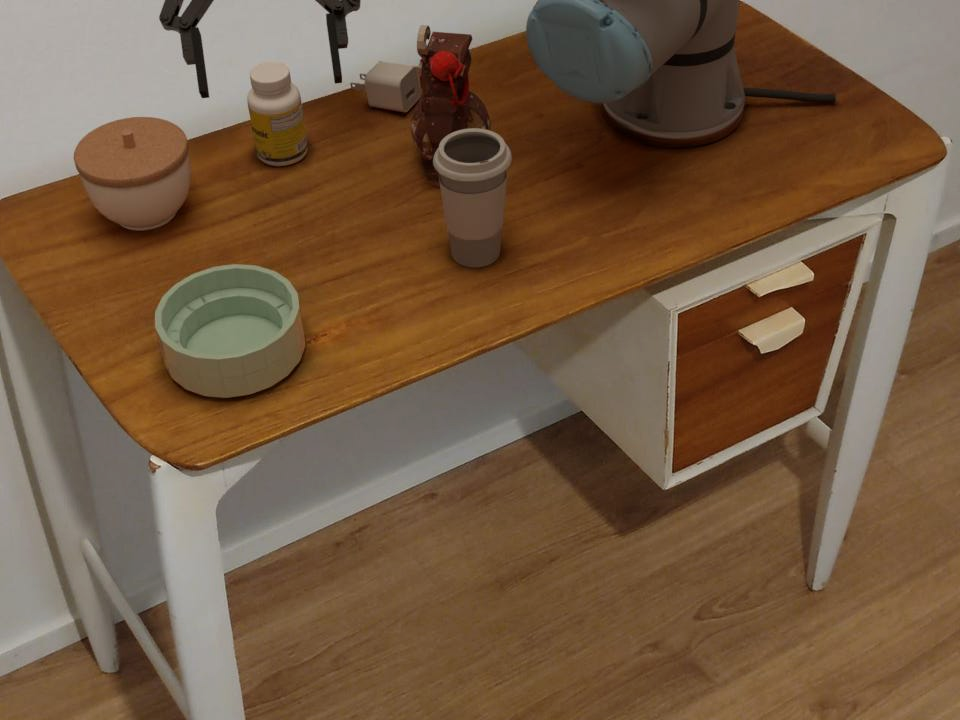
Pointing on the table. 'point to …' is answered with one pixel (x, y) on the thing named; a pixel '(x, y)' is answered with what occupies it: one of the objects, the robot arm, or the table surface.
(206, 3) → the robot arm
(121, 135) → the trinket box
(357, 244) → the table surface
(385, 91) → the usb wall charger
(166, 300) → the sage bowl
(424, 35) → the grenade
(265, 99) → the supplement bottle
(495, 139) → the cup
